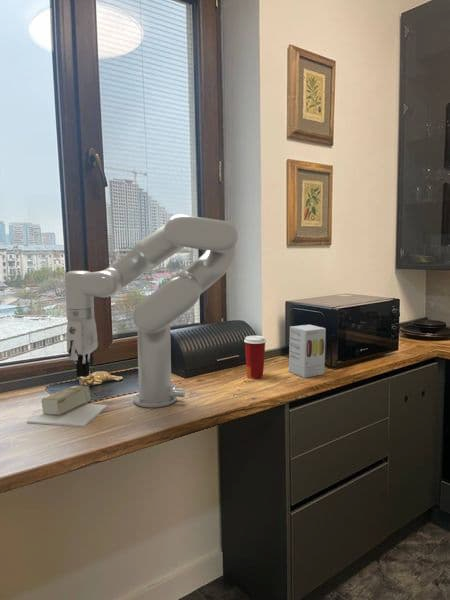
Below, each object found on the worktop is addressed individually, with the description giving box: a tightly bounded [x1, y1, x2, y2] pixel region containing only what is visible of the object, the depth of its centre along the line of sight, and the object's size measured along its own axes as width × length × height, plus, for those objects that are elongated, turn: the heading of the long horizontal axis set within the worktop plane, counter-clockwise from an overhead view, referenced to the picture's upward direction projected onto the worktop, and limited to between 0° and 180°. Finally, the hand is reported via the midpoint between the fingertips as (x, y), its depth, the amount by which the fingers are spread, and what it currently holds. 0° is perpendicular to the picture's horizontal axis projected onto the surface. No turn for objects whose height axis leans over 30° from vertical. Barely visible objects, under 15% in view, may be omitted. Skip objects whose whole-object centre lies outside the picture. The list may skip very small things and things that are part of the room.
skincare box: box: [41, 385, 92, 415], centre depth 122 cm, size 6×4×12 cm
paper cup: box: [243, 335, 267, 380], centre depth 152 cm, size 8×8×14 cm
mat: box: [26, 403, 108, 428], centre depth 119 cm, size 16×14×1 cm
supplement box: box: [288, 324, 327, 379], centre depth 156 cm, size 10×9×17 cm
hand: (83, 375), depth 127 cm, fingers closed
